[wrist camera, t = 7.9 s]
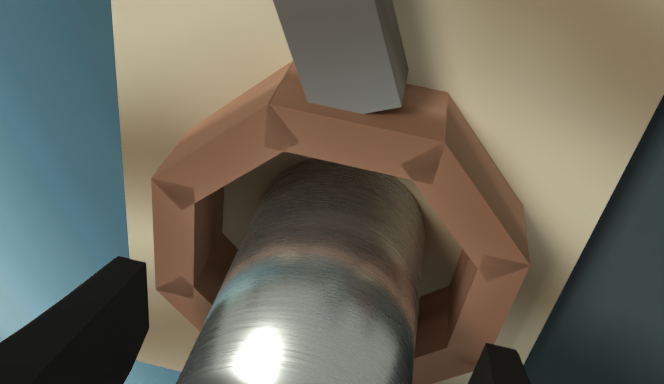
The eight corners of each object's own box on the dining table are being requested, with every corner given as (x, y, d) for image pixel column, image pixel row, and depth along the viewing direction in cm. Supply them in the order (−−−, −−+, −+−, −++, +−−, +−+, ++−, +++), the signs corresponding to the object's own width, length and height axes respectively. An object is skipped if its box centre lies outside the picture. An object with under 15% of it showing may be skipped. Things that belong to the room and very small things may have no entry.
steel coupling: (452, 191, 15) (442, 449, 9) (392, 307, 17) (358, 563, 12) (279, 132, 15) (167, 359, 9) (246, 258, 17) (143, 493, 12)
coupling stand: (480, 415, 21) (482, 511, 19) (151, 334, 22) (106, 415, 19) (715, -63, 12) (789, -11, 9) (127, -176, 13) (32, -160, 10)
